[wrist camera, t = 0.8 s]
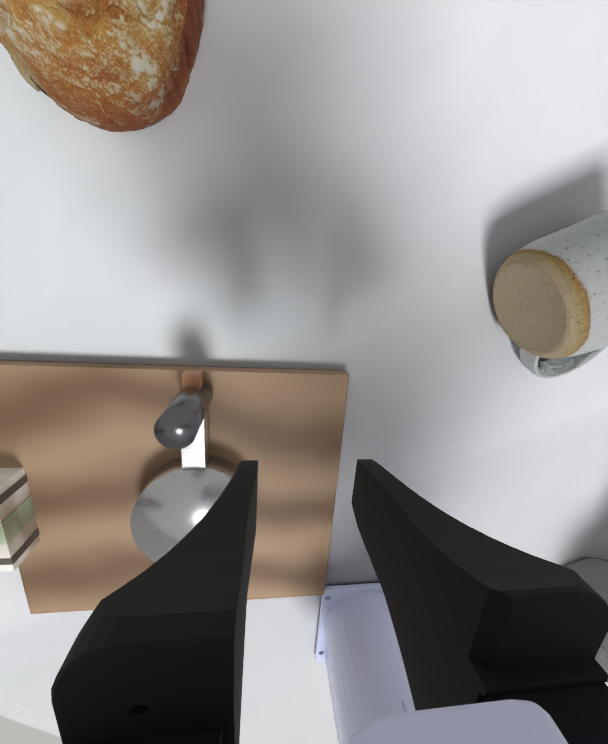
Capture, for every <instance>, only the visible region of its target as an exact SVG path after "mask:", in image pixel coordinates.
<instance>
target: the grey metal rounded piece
mask: <svg viewBox="0 0 608 744" xmlns="http://www.w3.org/2000/svg"><path fill="white" fill-rule="evenodd" d="M181 376H182V388H181V389H180V391H179V392H178V393H177V395H176V396H175V397H174V399H173V400H172V401H171V402H170V404H169V405H168V406H167V408H166V409H165V410H164V412H163V413H162V414H161V416H160V417H159V418H158V420H157V421H156V423H155V425H154V435H155V437H156V439H157V441H158V442H159V443H160V444H162V445H163V446H165V447H167V448H170V449H181V452H182V458H180V459H177V460H174V461H172V462H170V463H168V464H166V465H164V466H163V467H161V468H160V469H159V470H157V471H156V472H155V473H154V474H153V475H152V477H151V478H150V479H149V481H148V482H147V484H146V486H145V487H144V489H143V491H142V493H141V494H140V496H139V498H138V500H137V501H136V503H135V505H134V507H133V510H132V513H131V519H130V528H131V533H132V536H133V539H134V541H135V543H136V545H137V546H138V548H139V549H140V550H141V551H142V552H143V553H144V554H145V555H146V556H147V557H148V558H150V559H151V560H152V561H154V562H156V561H157V560H159V559H160V558H161V557H162V556H164V555H165V554H166V553H167V552H168V551H170V550H171V549H172V548H173V547H174V546H175V545H176V544H177V543H178V542H179V541H180V540H181V539H182V538H183V537H185V536H186V535H187V534H188V533H189V532H190V531H191V530H192V529H193V527H194V526H195V525H196V524H197V523H198V522H199V521H200V520H201V519H202V518H203V516H204V515H205V514H206V513H207V512H208V511H209V509H210V508H211V507H212V505H213V504H214V503H215V501H216V500H217V499H218V498H219V496H220V495H221V493H222V492H223V490H224V489H225V487H226V486H227V484H228V483H229V481H230V480H231V478H232V476H233V475H234V473H235V471H236V469H237V467H236V466H235V465H233V464H231V463H229V462H227V461H225V460H222V459H219V458H215V457H210V456H208V417H207V410H208V408H209V405H210V403H211V401H212V398H213V392H212V389H211V387H210V386H209V385H208V384H207V383H206V382H204V381H203V370H185V371H184V372H183V373H182V374H181Z"/></svg>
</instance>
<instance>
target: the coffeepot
mask: <svg viewBox="0 0 608 744" xmlns="http://www.w3.org/2000/svg"><path fill="white" fill-rule="evenodd" d="M564 567H566V568H569V569H572V570H574V571H575V572H576V573H577V574H578V575H579V576H580V577H581V578H582V579H583V580H584V581H586V582H587V583H588V584H589V585H590V586H591V587H592V588H593V589H594V590H595V591H596V592H597V593H598V594H599V595H600V596H601V597H602V598H603V599H604V600H605V601H606V602H607V604H608V561H605V560H601V559H598V558H587V559H581V560H577V561H574V562H572V563H570V564H567V565H566V566H564ZM595 660H596V661H597V662H598V663H599V664H600V665H601V666H602V668H603V669H604V670H605V671H606V672H607V674H608V632H607V634H606V636H605V638H604V640H603V642H602V644H601V646H600V648H599V650H598V652H597V654H596V656H595ZM607 683H608V681H607Z"/></svg>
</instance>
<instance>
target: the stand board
mask: <svg viewBox="0 0 608 744" xmlns="http://www.w3.org/2000/svg"><path fill="white" fill-rule="evenodd" d="M185 370H203V381H204V382H206V383H207V384H208V385H209V386H210V387H211V389H212V392H213V398H212V401H211V403H210V405H209V408H208V410H207V417H208V456H210V457H215V458H219V459H222V460H225V461H227V462H229V463H231V464H233V465H235V466H236V467H238V464H239V463H240V462H241V461H242V460H258V487H257V519H256V535H255V542H254V550H253V557H252V564H251V572H250V579H249V586H248V594H247V600H251V599H267V598H282V597H297V596H312V595H324V592H325V583H326V574H327V565H328V557H329V548H330V539H331V530H332V521H333V513H334V504H335V495H336V486H337V478H338V469H339V460H340V451H341V443H342V434H343V425H344V416H345V408H346V399H347V390H348V381H349V374H348V373H347V372H346V371H333V370H301V369H269V368H236V367H204V366H172V365H140V364H107V363H75V362H43V361H10V360H0V572H3V571H15V569H16V568H17V567H18V566H19V570H20V574H21V578H22V582H23V586H24V590H25V594H26V598H27V601H28V605H29V609H30V613H31V614H39V613H54V612H69V611H84V610H95V608H96V607H97V605H98V604H99V602H100V601H101V600H102V599H103V598H105V597H107V596H108V595H110V594H111V593H113V592H114V591H116V590H117V589H119V588H120V587H122V586H123V585H125V584H126V583H128V582H129V581H131V580H132V579H134V578H135V577H137V576H138V575H139V574H141V573H142V572H144V571H145V570H146V569H147V568H149V567H150V566H151V565H152V564H154V563H155V562H154V561H152V560H151V559H150V558H148V557H147V556H146V555H145V554H144V553H143V552H142V551H141V550H140V549H139V548H138V546H137V545H136V543H135V541H134V539H133V536H132V533H131V528H130V519H131V513H132V510H133V507H134V505H135V503H136V501H137V500H138V498H139V496H140V494H141V493H142V491H143V489H144V487H145V486H146V484H147V482H148V481H149V479H150V478H151V477H152V475H153V474H154V473H155V472H156V471H157V470H159V469H160V468H161V467H163V466H164V465H166V464H168V463H170V462H172V461H174V460H177V459H180V458H182V452H181V449H170V448H167V447H165V446H163V445H162V444H160V443H159V442H158V441H157V439H156V437H155V435H154V425H155V423H156V421H157V420H158V418H159V417H160V416H161V414H162V413H163V412H164V410H165V409H166V408H167V406H168V405H169V404H170V402H171V401H172V400H173V399H174V397H175V396H176V395H177V393H178V392H179V391H180V389H181V388H182V376H181V374H182V373H183V372H184V371H185Z"/></svg>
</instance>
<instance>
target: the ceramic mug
mask: <svg viewBox="0 0 608 744" xmlns="http://www.w3.org/2000/svg"><path fill="white" fill-rule="evenodd" d="M493 305H494V309H495V312H496V315H497V318H498V321H499V323H500V325H501V326H502V328H503V330H504V331H505V333H506V334H507V335H508V336H509V338H510V339H511V340H512V341H513V342H514V343H515V344H517V345H518V346H519V347H520V351H519V353H520V360H521V362H522V364H523V365H524V366H525V367H526V368H527V369H528V370H530V371H531V372H532V373H534V374H535V375H537V376H539V377H543V378H551V377H557V376H560V375H564V374H567V373H569V372H571V371H573V370H575V369H577V368H579V367H581V366H582V365H584V364H586V363H587V362H589V361H590V360H592V359H593V358H594V357H596V356H597V355H598V354H599V353H600V352H601V351H603V350H604V349H605V348H606V346H608V210H606V211H603V212H601V213H598V214H596V215H594V216H591V217H589V218H586V219H584V220H582V221H579V222H577V223H575V224H573V225H571V226H568V227H566V228H564V229H561V230H559V231H556V232H554V233H551V234H549V235H546V236H544V237H541V238H539V239H537V240H535V241H532V242H531V243H529V244H527V245H526V246H524V247H522V248H521V249H519V250H518V251H516V252H515V253H513V254H512V255H510V256H509V257H508V258H507V259H506V260H505V261H504V262H503V264H502V265H501V266H500V268H499V270H498V272H497V275H496V277H495V280H494V285H493ZM540 357H541V358H547V359H548V360H545V361H539V362H538V360H539V358H540Z"/></svg>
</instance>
